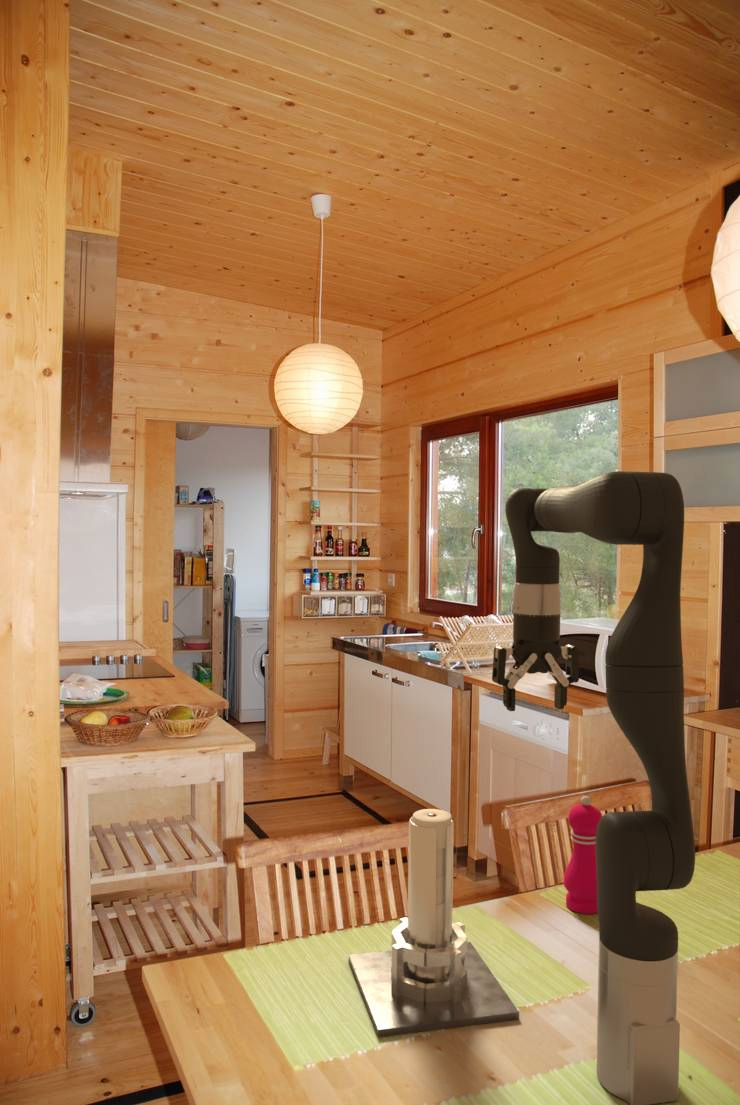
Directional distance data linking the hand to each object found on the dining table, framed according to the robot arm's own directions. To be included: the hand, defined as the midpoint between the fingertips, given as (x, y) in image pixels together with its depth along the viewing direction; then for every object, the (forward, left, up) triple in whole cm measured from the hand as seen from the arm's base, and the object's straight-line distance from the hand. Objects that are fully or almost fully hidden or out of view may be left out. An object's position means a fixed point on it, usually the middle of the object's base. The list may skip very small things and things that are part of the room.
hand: (535, 709), depth 138 cm
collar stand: (-11, +21, -38) cm, 45 cm away
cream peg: (-11, +21, -37) cm, 44 cm away
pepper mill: (+9, -14, -38) cm, 42 cm away
